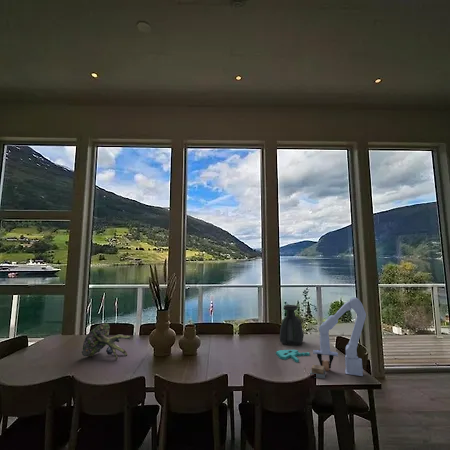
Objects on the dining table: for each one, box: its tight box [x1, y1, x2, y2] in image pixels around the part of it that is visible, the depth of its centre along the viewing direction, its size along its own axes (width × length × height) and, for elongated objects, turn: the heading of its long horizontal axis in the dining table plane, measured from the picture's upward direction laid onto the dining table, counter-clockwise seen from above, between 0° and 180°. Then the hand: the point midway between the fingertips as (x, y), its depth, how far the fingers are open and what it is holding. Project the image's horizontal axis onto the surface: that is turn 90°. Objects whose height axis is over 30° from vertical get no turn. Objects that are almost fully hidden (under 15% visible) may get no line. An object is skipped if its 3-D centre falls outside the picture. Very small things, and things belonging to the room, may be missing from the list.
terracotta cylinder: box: [322, 359, 331, 372], centre depth 180 cm, size 4×4×5 cm
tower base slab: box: [309, 369, 327, 379], centre depth 171 cm, size 8×8×2 cm
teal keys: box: [275, 349, 311, 363], centre depth 207 cm, size 20×2×20 cm
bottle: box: [278, 304, 304, 346], centre depth 244 cm, size 18×16×30 cm
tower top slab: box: [310, 364, 325, 374], centre depth 171 cm, size 6×6×2 cm
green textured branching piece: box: [81, 322, 132, 361], centre depth 210 cm, size 23×26×35 cm
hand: (325, 367), depth 180 cm, fingers closed on terracotta cylinder, 4 cm apart
